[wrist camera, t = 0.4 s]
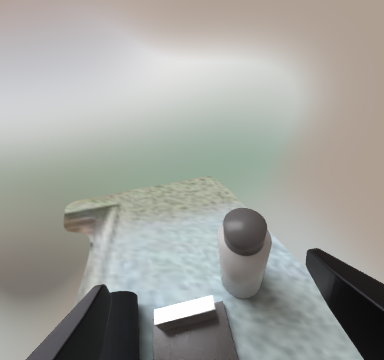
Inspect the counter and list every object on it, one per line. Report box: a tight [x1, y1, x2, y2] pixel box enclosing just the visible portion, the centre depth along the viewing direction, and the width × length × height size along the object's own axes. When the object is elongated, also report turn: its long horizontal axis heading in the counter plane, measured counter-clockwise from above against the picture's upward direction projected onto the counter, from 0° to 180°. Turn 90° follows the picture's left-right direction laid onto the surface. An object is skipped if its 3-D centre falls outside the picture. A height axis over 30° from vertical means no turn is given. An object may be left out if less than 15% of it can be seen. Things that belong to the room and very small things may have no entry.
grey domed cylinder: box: [217, 208, 272, 299], centre depth 19 cm, size 5×5×11 cm
